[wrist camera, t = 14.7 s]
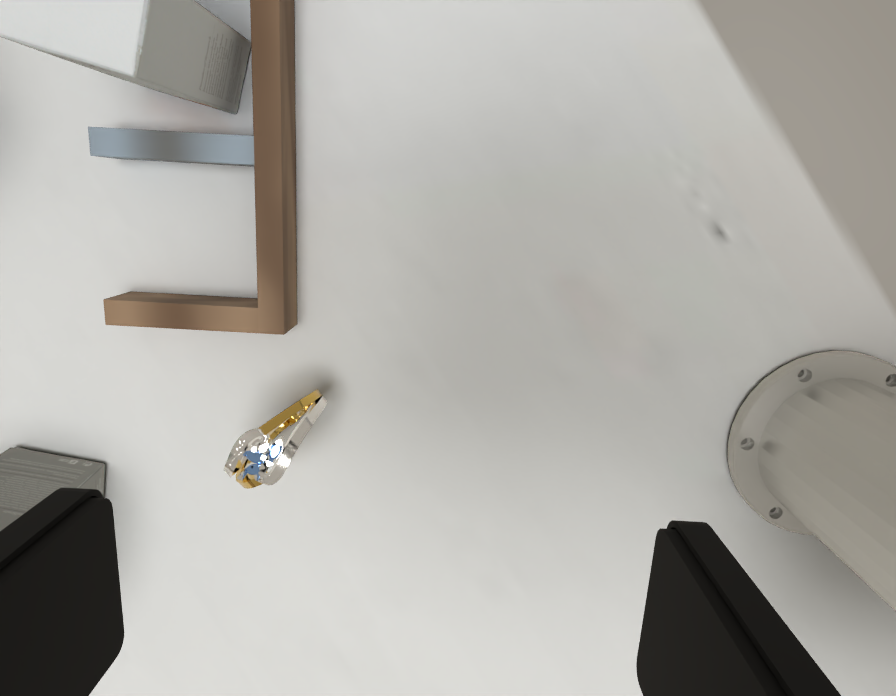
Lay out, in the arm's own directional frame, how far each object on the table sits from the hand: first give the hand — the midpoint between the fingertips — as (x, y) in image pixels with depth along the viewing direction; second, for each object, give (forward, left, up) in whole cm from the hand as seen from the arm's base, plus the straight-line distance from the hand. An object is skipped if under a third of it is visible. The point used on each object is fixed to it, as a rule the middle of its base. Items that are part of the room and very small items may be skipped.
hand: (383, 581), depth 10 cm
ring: (+9, +8, -28) cm, 31 cm away
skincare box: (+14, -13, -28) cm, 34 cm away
